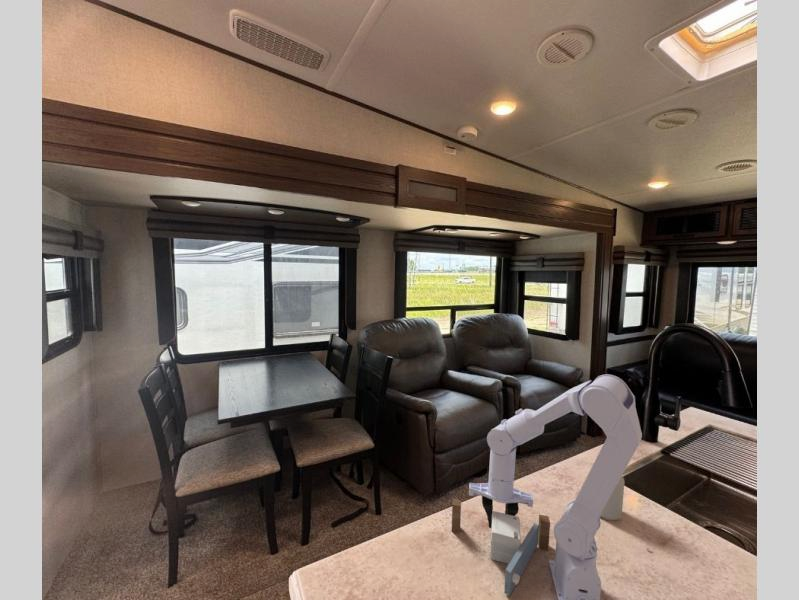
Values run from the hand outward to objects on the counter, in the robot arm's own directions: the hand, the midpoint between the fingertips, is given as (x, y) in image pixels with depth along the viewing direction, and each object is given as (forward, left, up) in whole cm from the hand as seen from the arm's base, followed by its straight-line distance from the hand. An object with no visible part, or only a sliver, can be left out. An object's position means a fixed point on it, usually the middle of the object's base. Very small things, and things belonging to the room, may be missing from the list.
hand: (497, 526), depth 78 cm
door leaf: (-8, -5, -2) cm, 10 cm away
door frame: (-1, 0, -2) cm, 2 cm away
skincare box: (-5, -1, -2) cm, 5 cm away
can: (+15, -29, -3) cm, 32 cm away
